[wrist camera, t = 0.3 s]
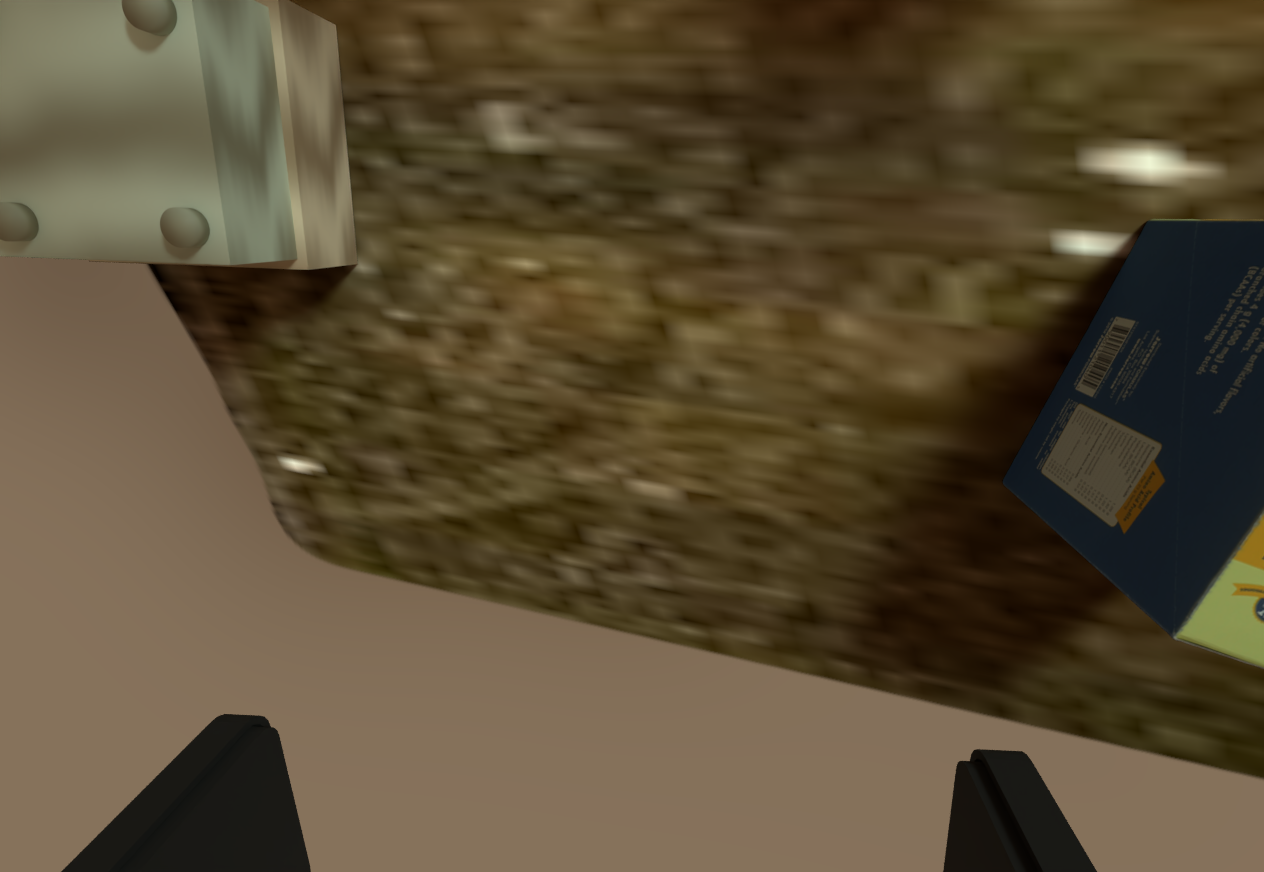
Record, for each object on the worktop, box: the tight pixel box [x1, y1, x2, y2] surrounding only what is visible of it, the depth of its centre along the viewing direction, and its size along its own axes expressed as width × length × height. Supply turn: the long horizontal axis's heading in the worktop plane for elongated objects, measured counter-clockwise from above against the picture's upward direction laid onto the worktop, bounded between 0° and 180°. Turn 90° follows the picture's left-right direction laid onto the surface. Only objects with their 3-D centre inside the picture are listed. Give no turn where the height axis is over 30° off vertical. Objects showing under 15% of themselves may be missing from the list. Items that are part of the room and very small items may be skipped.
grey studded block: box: [0, 0, 358, 270], centre depth 32 cm, size 12×12×11 cm
